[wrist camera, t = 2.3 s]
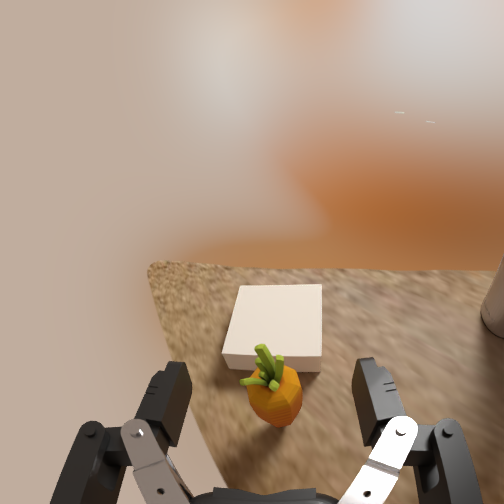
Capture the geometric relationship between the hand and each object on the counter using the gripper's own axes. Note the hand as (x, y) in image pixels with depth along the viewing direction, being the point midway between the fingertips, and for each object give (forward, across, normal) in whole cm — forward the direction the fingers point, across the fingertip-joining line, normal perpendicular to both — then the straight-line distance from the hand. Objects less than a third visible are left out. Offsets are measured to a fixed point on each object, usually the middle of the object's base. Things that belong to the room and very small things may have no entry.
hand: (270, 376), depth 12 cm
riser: (+22, 0, +16) cm, 27 cm away
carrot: (+10, -1, +19) cm, 22 cm away
